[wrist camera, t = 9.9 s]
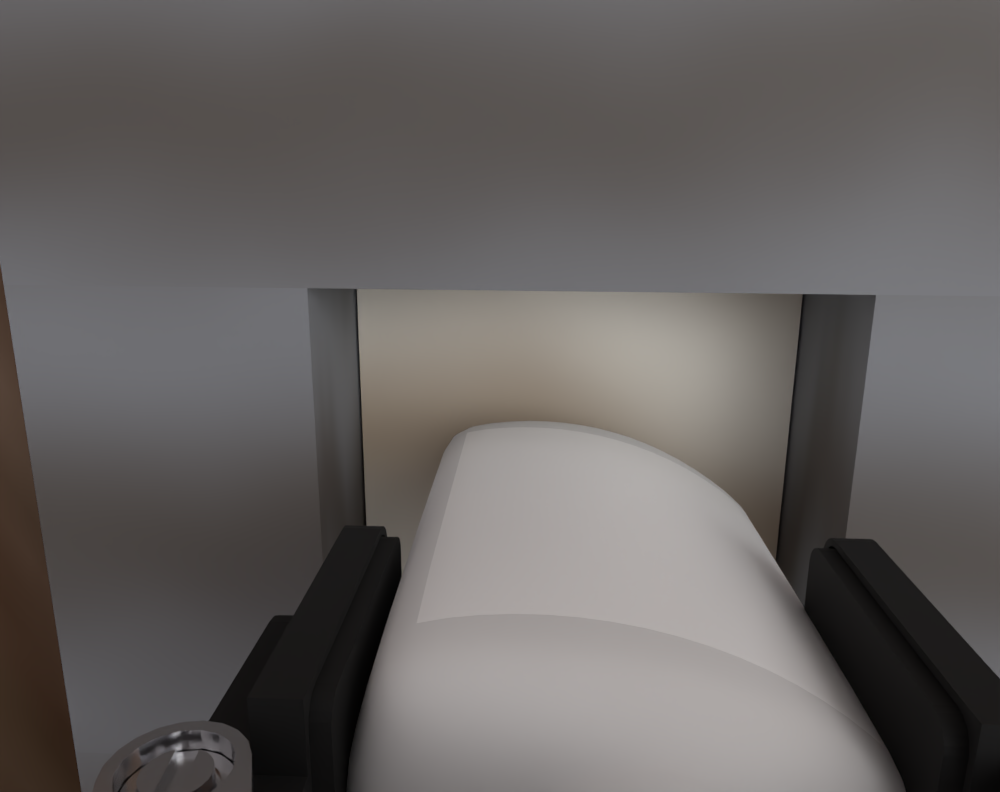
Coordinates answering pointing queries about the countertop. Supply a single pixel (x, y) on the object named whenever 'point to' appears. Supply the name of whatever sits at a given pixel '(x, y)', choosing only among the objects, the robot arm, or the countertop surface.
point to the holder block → (483, 288)
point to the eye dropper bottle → (600, 636)
